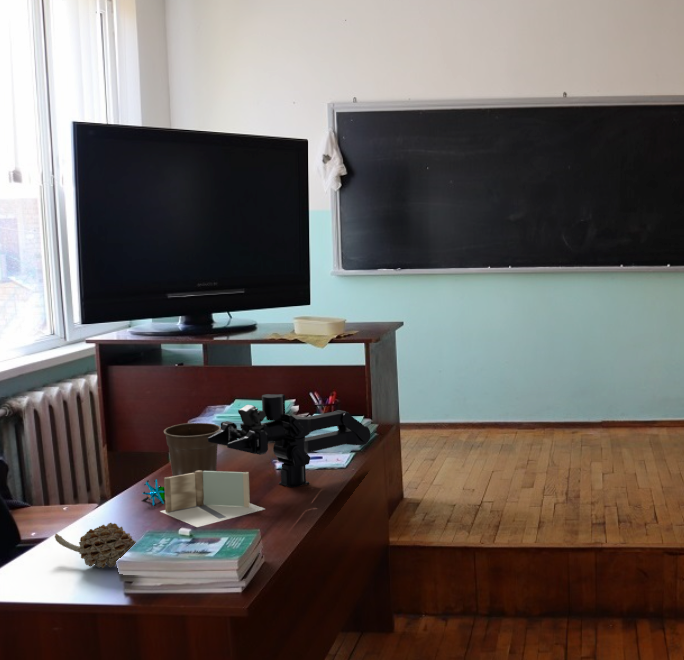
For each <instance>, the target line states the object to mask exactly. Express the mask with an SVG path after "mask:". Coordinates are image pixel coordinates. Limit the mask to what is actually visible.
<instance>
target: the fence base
mask: <svg viewBox="0 0 684 660" xmlns="http://www.w3.org/2000/svg"><path fill="white" fill-rule="evenodd" d="M163 485H164V486H163V487H164V489H165V501H164V506H165V507H164V510H165V511H166V512H171V511H175V510H180V509H185V508H190V507H195V506H203V505H204V488H203V471H201V470H198V471H195V473H189V474H183V475H178V476H173V475H172V476H166V477H163ZM195 486H196V488H195Z"/></svg>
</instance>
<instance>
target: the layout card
mask: <svg viewBox="0 0 684 660" xmlns="http://www.w3.org/2000/svg"><path fill="white" fill-rule="evenodd" d="M263 510H265V508H264V507H262V506H259V505H256V504H253V503H251V502H250V506H249V507H244V506H222V505H203V506H195V507H190V508H185V509H180V510H175V511H171V512H166V511H165V509H163V510H159V512H160V513H162V514H165V515H167V516H169V517H172V518H173V519H176V520H178V521H181V522H183V523H186V524H189V526H190V525H191V526H193V527H196V528H200V527H203V526H208V525H212V524H215V523H219V522H223V521H226V520H227V521H228V520H231V519H234V518H237V517H238V518H239V517H241V516H246V515H248V514H254V513H256V512H260V511H263Z"/></svg>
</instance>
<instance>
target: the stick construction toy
mask: <svg viewBox="0 0 684 660" xmlns="http://www.w3.org/2000/svg"><path fill="white" fill-rule="evenodd" d="M153 481H154V482H155V483H154V484H155V487H153V486H152V485H150V483H149V482H150V481H149V480H146V481H145V483H144V484H143V485H144V486H147V488H148V489H149V491H150V492H146V491H143V492H141V494H142V495H146V497H144V498H143V499H141V502H147V501H150V500H152V502H151V503H152V506H153V507H156V503H155V500H156V499H157V500H159V501H160V502H161V504H162V505H165V489H164V486H162V485H159V486H158V479H154V480H153Z"/></svg>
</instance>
